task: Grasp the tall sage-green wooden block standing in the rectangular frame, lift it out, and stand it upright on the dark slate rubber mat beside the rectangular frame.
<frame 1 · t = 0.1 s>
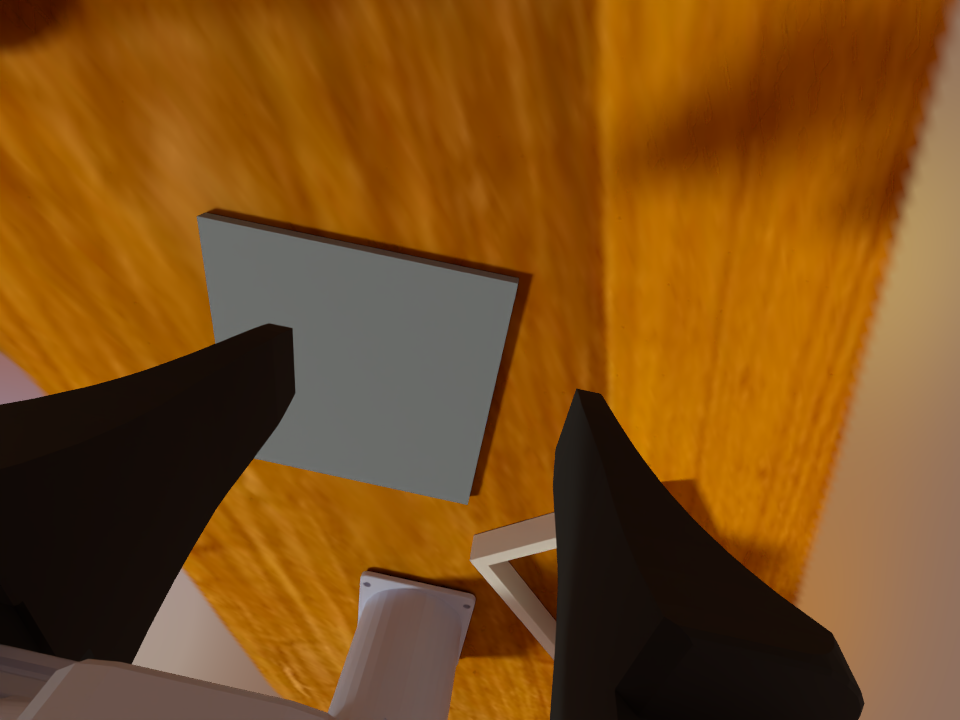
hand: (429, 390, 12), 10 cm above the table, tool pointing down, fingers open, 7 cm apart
rectangular frame: (599, 570, 31), on the table
mat: (356, 375, 25), on the table
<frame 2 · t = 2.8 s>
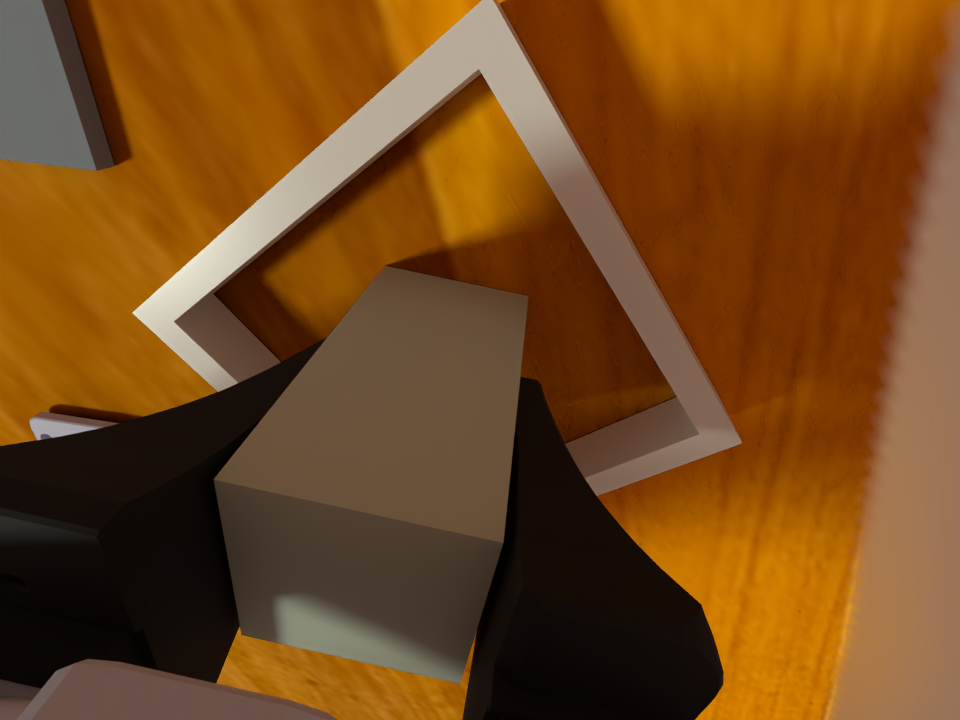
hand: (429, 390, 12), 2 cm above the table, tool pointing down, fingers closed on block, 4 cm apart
rectangular frame: (446, 343, 14), on the table
block: (414, 430, 11), in the rectangular frame, touching gripper
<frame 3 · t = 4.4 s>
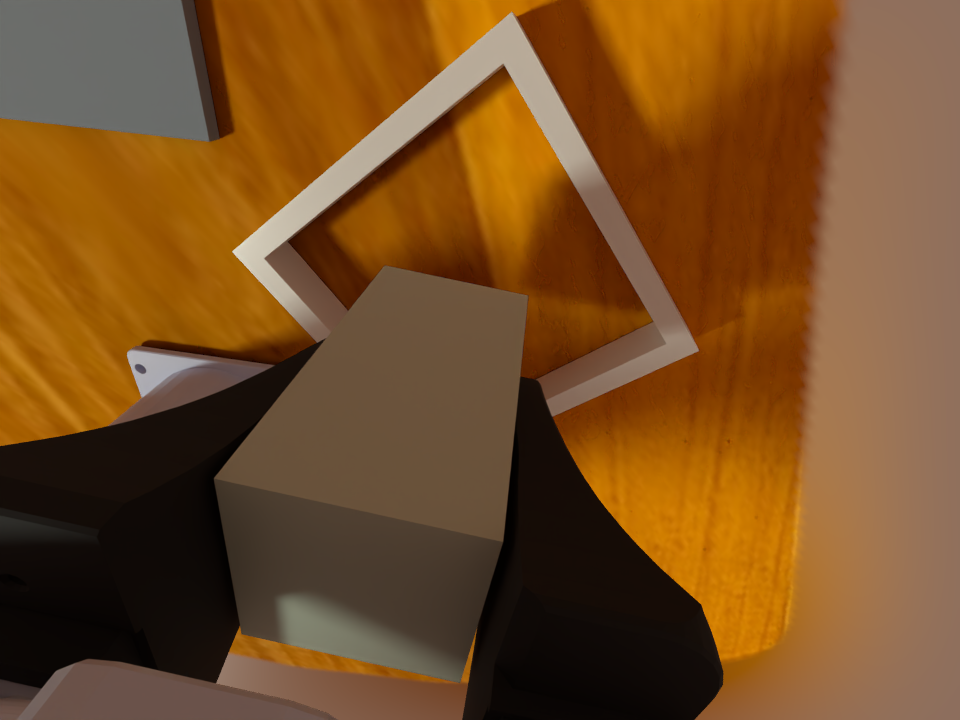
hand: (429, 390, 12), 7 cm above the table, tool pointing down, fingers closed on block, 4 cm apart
rectangular frame: (471, 280, 18), on the table
block: (414, 430, 11), point 9 cm above the table, touching gripper
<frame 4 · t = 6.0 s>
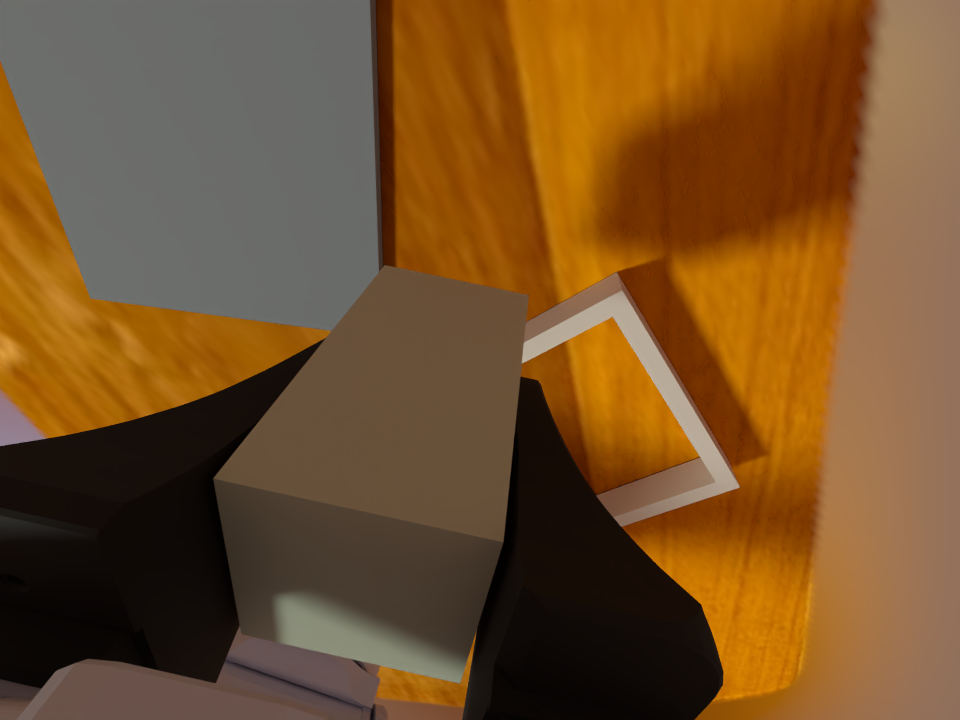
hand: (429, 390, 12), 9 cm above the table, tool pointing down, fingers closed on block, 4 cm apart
rectangular frame: (564, 425, 24), on the table
mat: (207, 153, 19), on the table
block: (414, 430, 11), point 11 cm above the table, touching gripper
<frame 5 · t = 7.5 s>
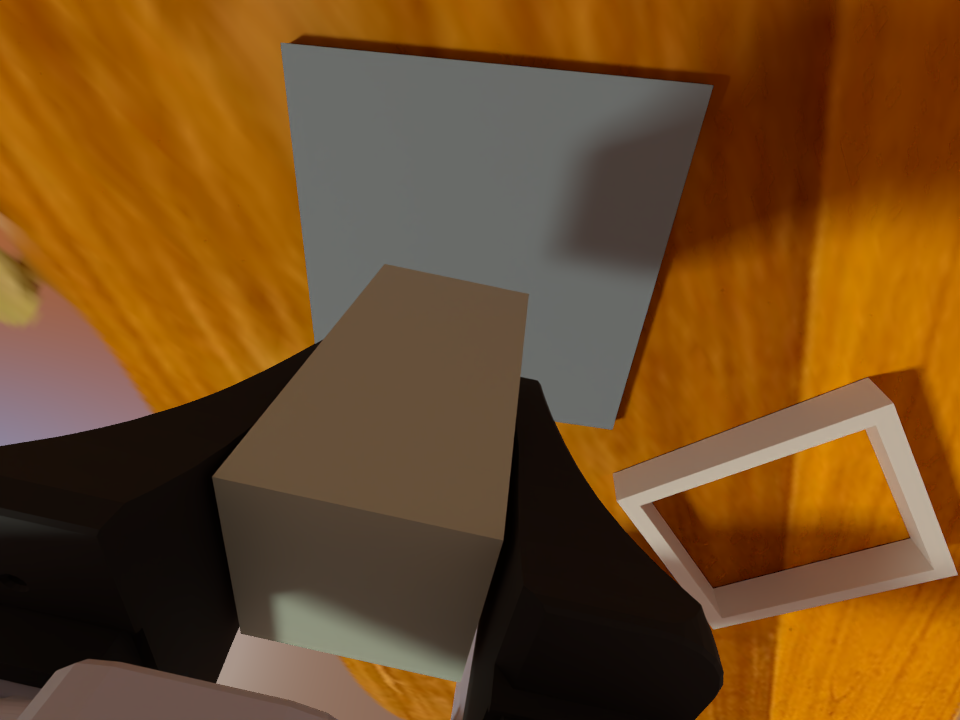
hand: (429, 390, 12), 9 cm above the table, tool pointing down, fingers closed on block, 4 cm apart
rectangular frame: (772, 508, 25), on the table
mat: (476, 263, 20), on the table
block: (414, 428, 11), point 11 cm above the table, touching gripper
when the fingers open (4 cm above the table, at t = 9.0 s): block stays where it is, resting on mat.
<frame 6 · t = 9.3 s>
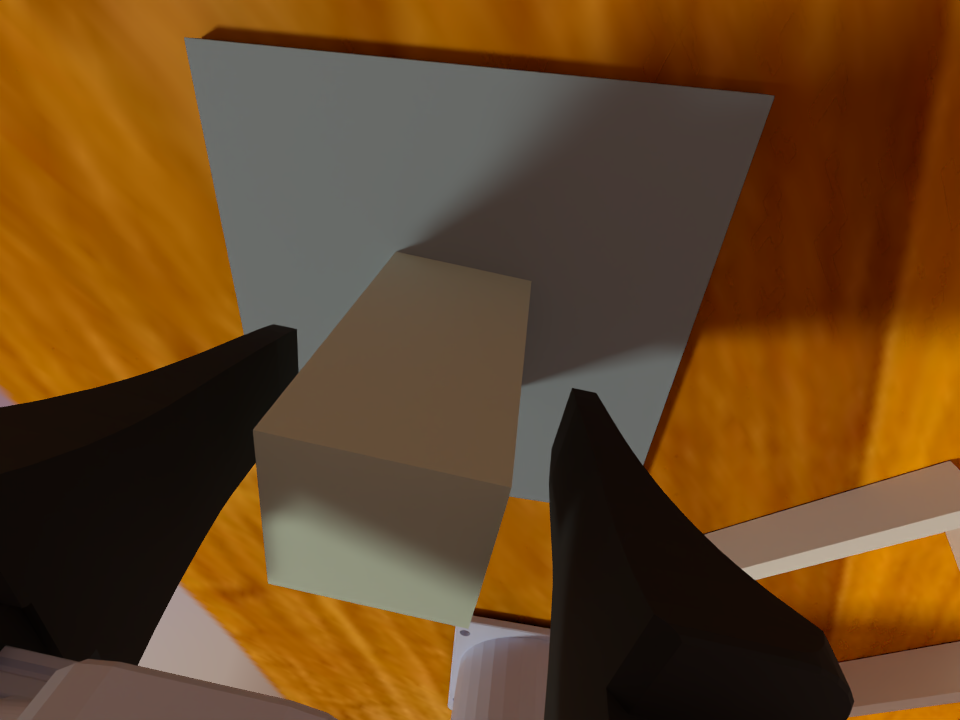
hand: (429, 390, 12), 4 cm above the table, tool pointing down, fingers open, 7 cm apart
rectangular frame: (816, 600, 21), on the table
mat: (455, 318, 16), on the table
block: (425, 403, 12), on the mat, point 5 cm above the table
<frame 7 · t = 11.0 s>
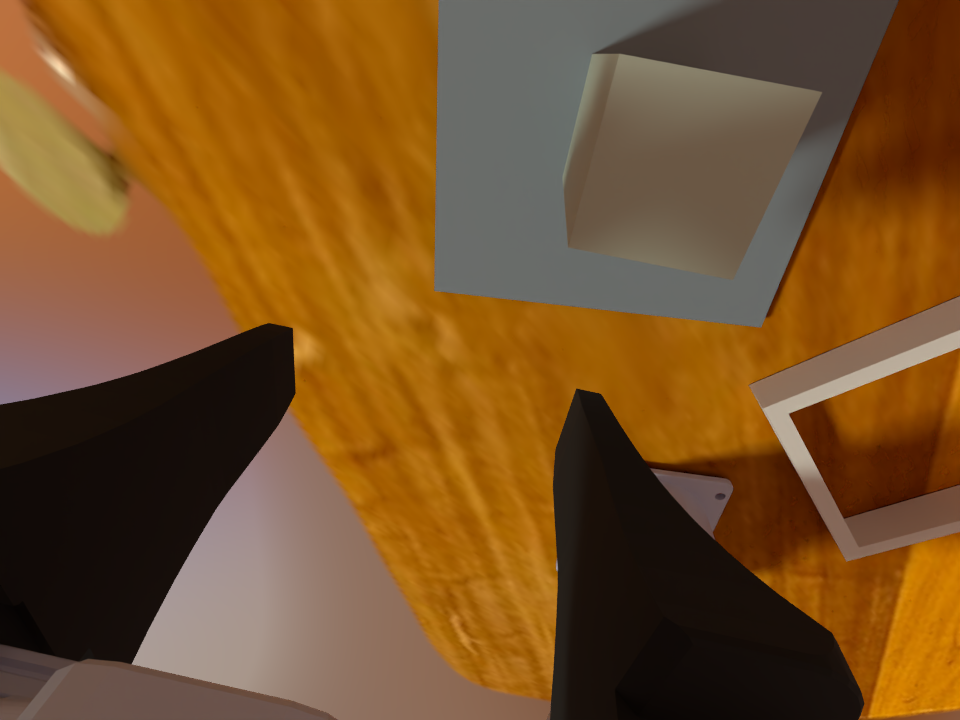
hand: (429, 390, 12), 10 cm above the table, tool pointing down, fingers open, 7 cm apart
rectangular frame: (925, 419, 23), on the table
mat: (628, 129, 18), on the table
block: (650, 148, 14), on the mat, point 5 cm above the table
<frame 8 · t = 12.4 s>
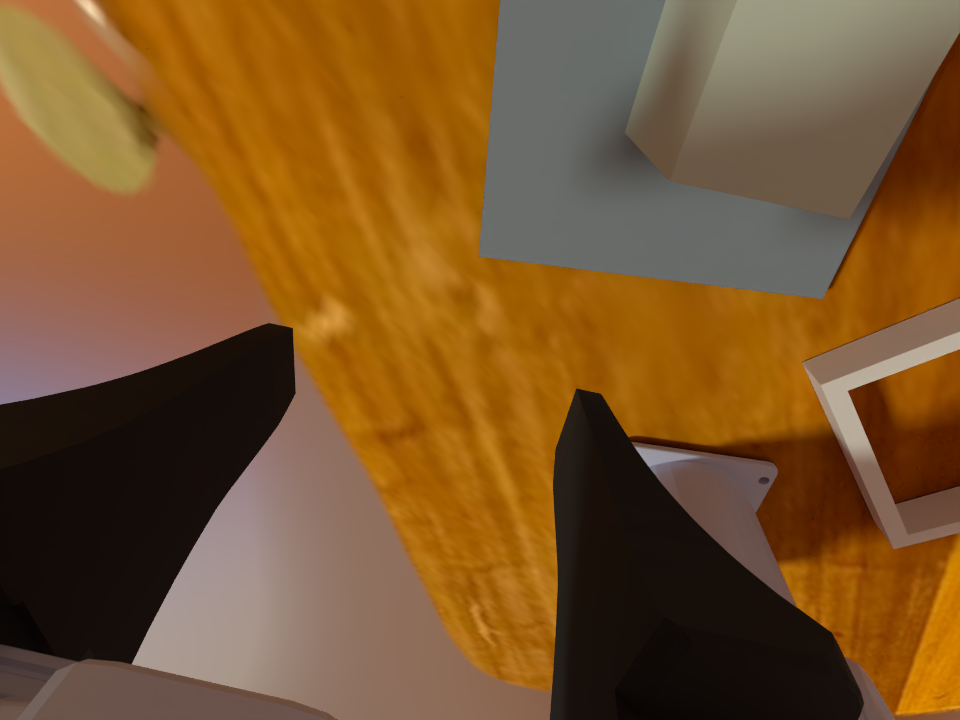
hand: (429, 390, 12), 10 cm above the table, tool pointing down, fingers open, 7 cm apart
mat: (697, 82, 17), on the table
block: (741, 87, 13), on the mat, point 5 cm above the table
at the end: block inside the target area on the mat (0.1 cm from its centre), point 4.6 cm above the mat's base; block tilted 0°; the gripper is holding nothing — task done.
